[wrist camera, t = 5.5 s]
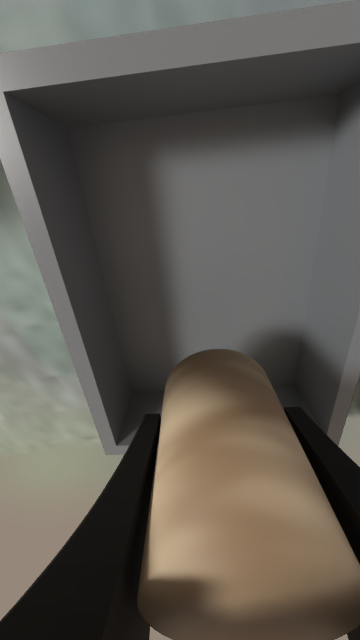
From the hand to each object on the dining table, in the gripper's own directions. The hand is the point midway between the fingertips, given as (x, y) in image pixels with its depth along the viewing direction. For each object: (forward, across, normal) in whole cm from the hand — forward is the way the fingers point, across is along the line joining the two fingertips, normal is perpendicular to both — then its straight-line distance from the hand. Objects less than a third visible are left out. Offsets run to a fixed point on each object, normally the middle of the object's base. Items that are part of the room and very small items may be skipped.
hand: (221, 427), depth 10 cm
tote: (+7, 0, -4) cm, 8 cm away
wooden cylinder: (+2, 0, 0) cm, 2 cm away
